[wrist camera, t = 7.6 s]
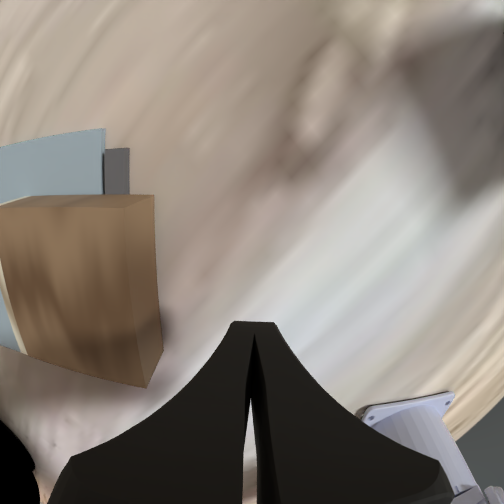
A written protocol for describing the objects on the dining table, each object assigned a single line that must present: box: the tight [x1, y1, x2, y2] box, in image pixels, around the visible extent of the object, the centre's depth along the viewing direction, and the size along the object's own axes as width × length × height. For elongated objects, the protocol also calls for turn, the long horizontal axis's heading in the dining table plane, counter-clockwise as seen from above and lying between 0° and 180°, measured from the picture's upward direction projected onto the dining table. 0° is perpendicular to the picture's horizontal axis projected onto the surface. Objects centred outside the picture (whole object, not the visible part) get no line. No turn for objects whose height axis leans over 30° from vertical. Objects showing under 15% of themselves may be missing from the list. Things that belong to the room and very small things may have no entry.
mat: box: [0, 128, 105, 352], centre depth 14 cm, size 14×12×1 cm
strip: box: [104, 148, 130, 195], centre depth 14 cm, size 12×1×1 cm, turn 177°
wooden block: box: [0, 194, 164, 388], centre depth 12 cm, size 8×3×8 cm
